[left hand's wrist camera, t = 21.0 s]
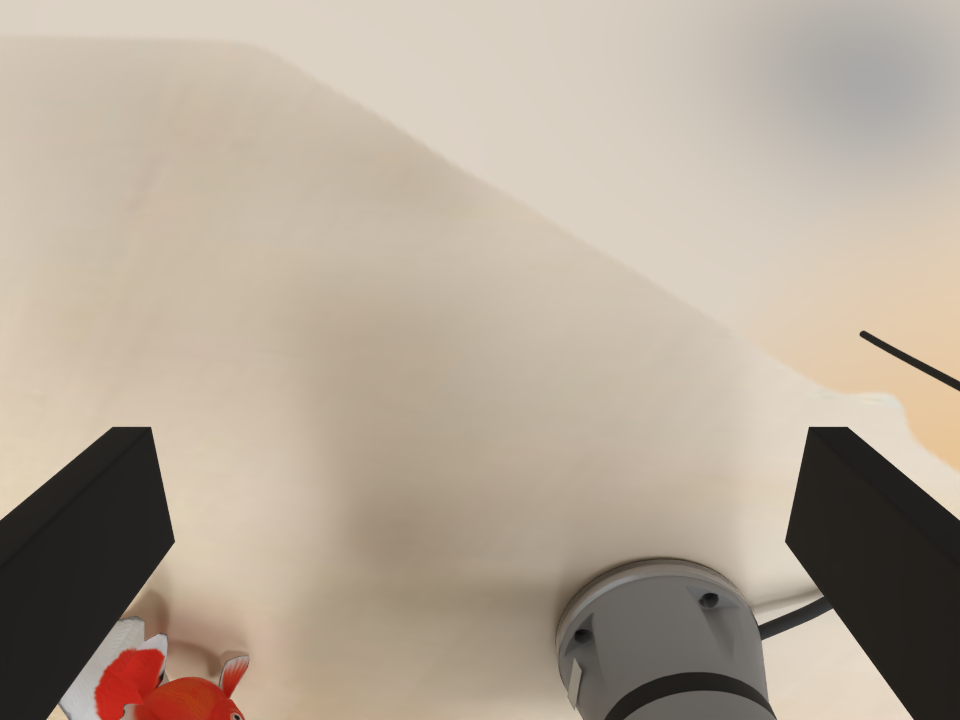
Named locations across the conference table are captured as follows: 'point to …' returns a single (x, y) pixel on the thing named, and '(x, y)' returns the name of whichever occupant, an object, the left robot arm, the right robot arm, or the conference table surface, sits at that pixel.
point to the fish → (146, 683)
